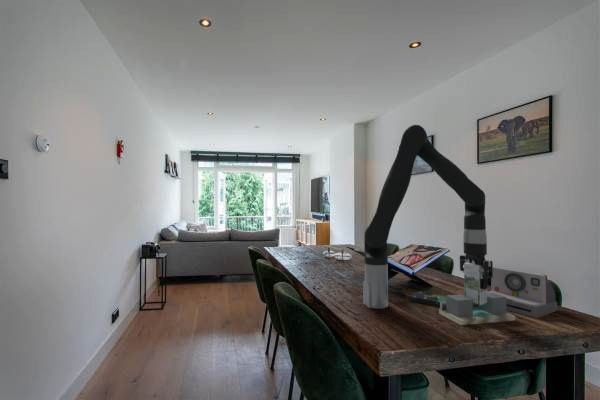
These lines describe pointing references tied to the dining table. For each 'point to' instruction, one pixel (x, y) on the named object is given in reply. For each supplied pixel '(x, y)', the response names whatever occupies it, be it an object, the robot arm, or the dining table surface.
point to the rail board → (475, 309)
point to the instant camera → (524, 291)
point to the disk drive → (427, 298)
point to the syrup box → (474, 284)
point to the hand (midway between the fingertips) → (475, 286)
